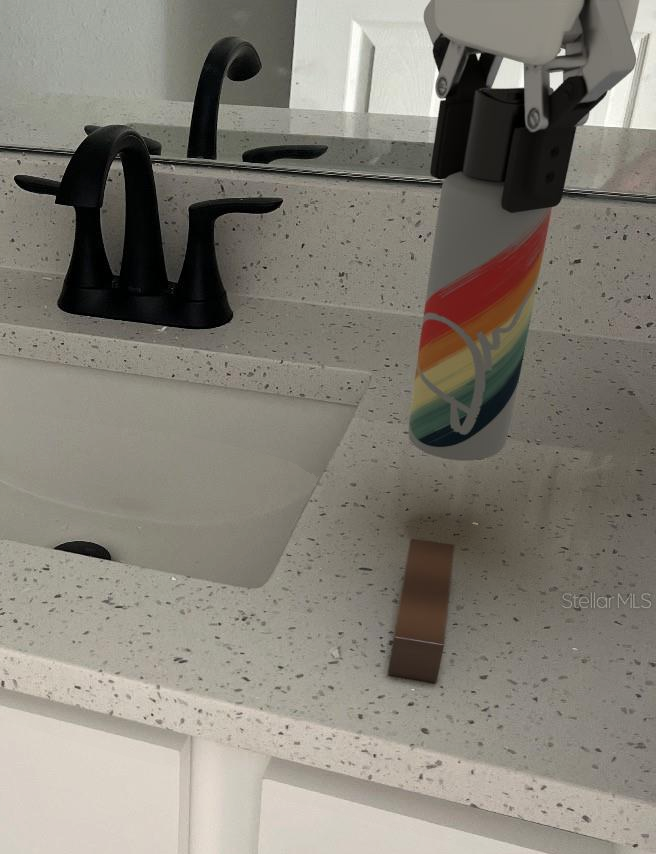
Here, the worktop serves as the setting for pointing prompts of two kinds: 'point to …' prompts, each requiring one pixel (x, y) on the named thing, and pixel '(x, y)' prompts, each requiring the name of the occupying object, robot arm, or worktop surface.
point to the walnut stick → (422, 611)
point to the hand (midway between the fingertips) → (492, 187)
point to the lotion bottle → (477, 294)
